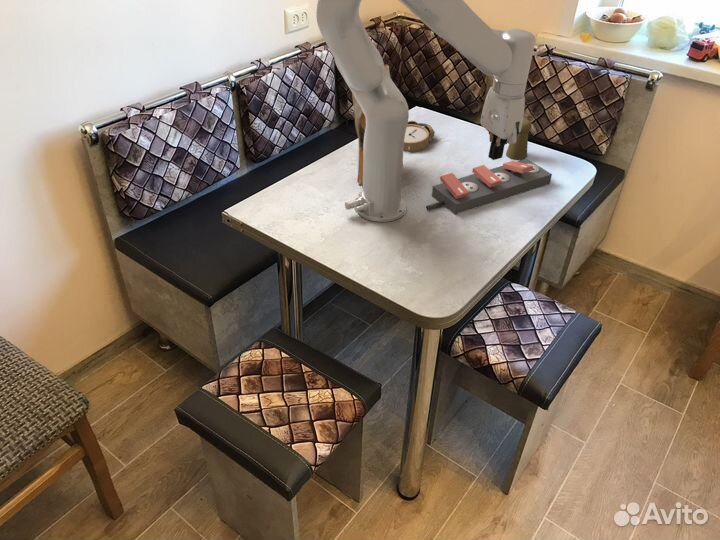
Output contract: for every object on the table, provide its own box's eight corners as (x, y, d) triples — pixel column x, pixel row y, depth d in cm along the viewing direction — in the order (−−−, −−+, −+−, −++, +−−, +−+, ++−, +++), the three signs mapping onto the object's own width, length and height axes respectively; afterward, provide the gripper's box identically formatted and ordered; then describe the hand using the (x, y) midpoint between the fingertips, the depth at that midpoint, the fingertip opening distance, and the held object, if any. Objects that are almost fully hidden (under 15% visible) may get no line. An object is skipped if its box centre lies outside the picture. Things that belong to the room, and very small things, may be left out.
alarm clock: (382, 136, 183) (411, 111, 190) (384, 150, 186) (412, 125, 194) (414, 147, 177) (442, 122, 185) (414, 161, 181) (442, 135, 188)
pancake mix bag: (342, 182, 166) (342, 81, 149) (383, 156, 179) (387, 59, 161) (362, 190, 163) (365, 87, 146) (402, 163, 175) (409, 65, 158)
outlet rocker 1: (455, 201, 155) (457, 195, 153) (439, 181, 159) (440, 175, 157) (466, 197, 156) (469, 192, 155) (450, 178, 160) (452, 172, 158)
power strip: (438, 219, 153) (439, 208, 151) (415, 200, 160) (416, 189, 157) (549, 183, 168) (552, 172, 165) (524, 168, 174) (526, 157, 172)
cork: (528, 160, 178) (536, 125, 171) (507, 160, 178) (514, 124, 171) (524, 150, 183) (531, 116, 176) (504, 150, 183) (510, 115, 176)
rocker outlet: (522, 176, 161) (522, 168, 161) (502, 170, 168) (502, 163, 167) (532, 173, 163) (532, 165, 162) (513, 167, 169) (513, 160, 168)
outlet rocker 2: (489, 190, 158) (491, 183, 157) (471, 174, 163) (472, 167, 162) (500, 186, 160) (501, 180, 158) (482, 171, 164) (483, 164, 163)
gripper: (476, 78, 147) (464, 148, 158) (518, 100, 137) (503, 174, 148) (500, 73, 150) (487, 142, 161) (543, 95, 140) (526, 167, 151)
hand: (495, 157), depth 155 cm, fingers closed
